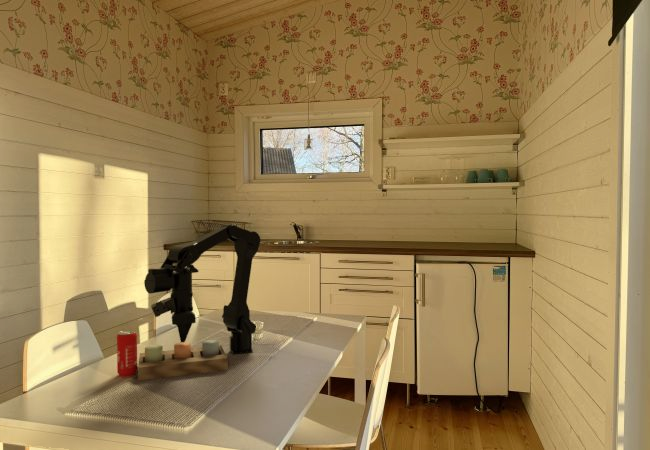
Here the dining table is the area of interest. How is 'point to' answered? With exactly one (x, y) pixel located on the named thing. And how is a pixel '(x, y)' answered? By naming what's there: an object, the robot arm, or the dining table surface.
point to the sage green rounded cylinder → (210, 348)
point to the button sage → (154, 353)
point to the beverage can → (127, 353)
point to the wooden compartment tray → (181, 364)
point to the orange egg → (182, 350)
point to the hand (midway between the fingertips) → (182, 342)
